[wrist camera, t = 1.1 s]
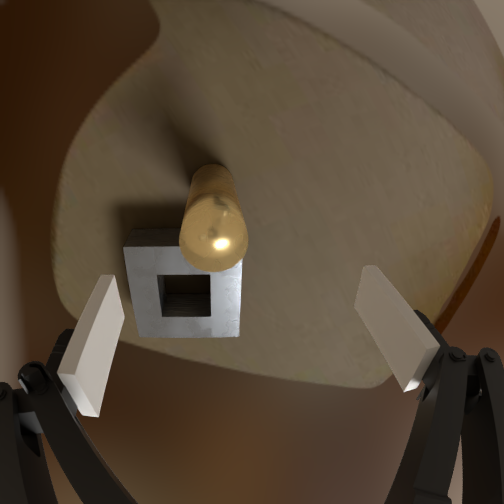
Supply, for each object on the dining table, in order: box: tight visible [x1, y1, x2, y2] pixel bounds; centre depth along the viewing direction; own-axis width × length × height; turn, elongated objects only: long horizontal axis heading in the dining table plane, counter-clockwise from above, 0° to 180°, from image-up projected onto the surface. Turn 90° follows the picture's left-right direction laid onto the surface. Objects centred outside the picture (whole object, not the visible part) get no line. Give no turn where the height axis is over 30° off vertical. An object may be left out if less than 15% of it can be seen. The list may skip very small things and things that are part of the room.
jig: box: [123, 228, 242, 338], centre depth 35 cm, size 12×12×4 cm
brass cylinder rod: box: [179, 164, 248, 272], centre depth 26 cm, size 4×4×14 cm
